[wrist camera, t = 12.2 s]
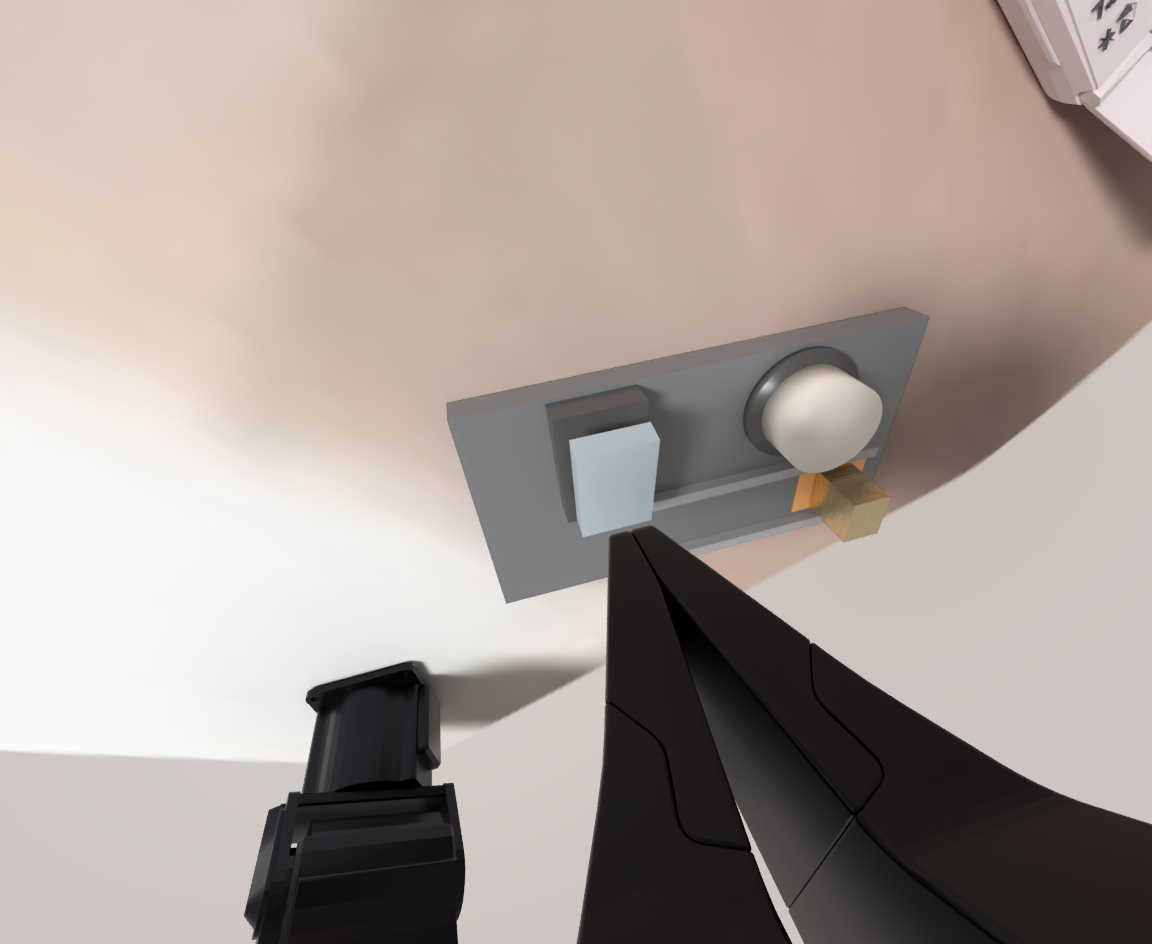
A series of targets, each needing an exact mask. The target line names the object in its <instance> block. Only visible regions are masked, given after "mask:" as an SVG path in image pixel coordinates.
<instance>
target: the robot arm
mask: <svg viewBox="0 0 1152 944" xmlns="http://www.w3.org/2000/svg"><path fill="white" fill-rule="evenodd" d="M605 694H606V695H605V696H606V697H605V701H606V705H605V729H604V730H605V731H604V747H603V766H602V774H601V783H600V790H599V799H598V807H597V814H596V820H595V827H594V835H593V841H592V847H591V854H590V861H589V867H588V874H587V881H586V888H585V894H584V901H583V907H582V914H581V920H580V927H579V934H578V939H577V944H792V942H791V940H790V938H789V936H788V934H787V932H786V931H785V929H784V927H783V924H782V922H781V920H780V918H779V916H778V914H777V912H776V910H775V908H774V906H773V904H772V901H771V898H770V896H769V894H768V892H767V889H766V886H765V884H764V882H763V879H762V876H761V874H760V871H759V868H758V865H757V863H756V860H755V857H754V855H753V853H751V846H750V842H749V839H748V837H747V834H746V831H745V828H744V825H743V822H742V819H741V816H740V813H739V811H738V808H737V805H738V807H739V809H740V811H741V813H742V816H743V817H744V819H745V822H746V824H747V826H748V828H749V830H750V832H751V834H752V836H753V838H754V840H755V842H756V844H757V847H758V849H759V851H760V853H761V855H762V856H763V859H764V861H765V863H766V865H767V867H768V869H769V871H770V873H771V875H772V877H773V880H774V882H775V884H776V886H777V888H778V890H779V892H780V894H781V896H782V898H783V900H784V902H785V904H786V906H787V907H788V908H789V913H790V915H791V917H792V919H793V921H794V923H795V926H796V928H797V930H798V932H799V934H800V935H801V937H802V940H803V942H804V944H1152V824H1149V823H1146V822H1143V821H1139V820H1136V819H1133V818H1130V817H1127V816H1123V815H1121V814H1117V813H1114V812H1111V811H1108V810H1105V809H1102V808H1098V807H1095V806H1092V805H1089V804H1086V803H1083V802H1080V801H1077V800H1075V799H1072V798H1070V797H1067V796H1065V795H1062V794H1059V793H1057V792H1055V791H1053V790H1051V789H1048V788H1046V787H1044V786H1041V785H1039V784H1037V783H1035V782H1033V781H1031V780H1030V779H1028V778H1026V777H1024V776H1022V775H1020V774H1018V773H1016V772H1014V771H1013V770H1011V769H1009V768H1008V767H1006V766H1004V765H1002V764H1001V763H999V762H997V761H996V760H994V759H993V758H991V757H989V756H987V755H986V754H984V753H983V752H981V751H979V750H978V749H976V748H975V747H973V746H971V745H970V744H968V743H966V742H965V741H963V740H961V739H960V738H958V737H957V736H955V735H953V734H952V733H950V732H948V731H947V730H945V729H943V728H942V727H940V726H938V725H937V724H935V723H933V722H932V721H930V720H929V719H927V718H925V717H924V716H922V715H920V714H919V713H917V712H916V711H914V710H912V709H911V708H909V707H907V706H906V705H904V704H903V703H901V702H899V701H898V700H896V699H895V698H893V697H892V696H890V695H888V694H887V693H885V692H884V691H882V690H881V689H879V688H877V687H876V686H874V685H873V684H871V683H870V682H868V681H866V680H865V679H864V678H862V677H861V676H859V675H858V674H857V673H855V672H854V671H852V670H851V669H849V668H848V667H846V666H845V665H844V664H842V663H841V662H839V661H838V660H836V659H835V658H834V657H832V656H831V655H829V654H828V653H827V652H825V651H824V650H823V649H821V648H820V647H819V646H817V645H816V644H814V643H811V644H810V641H809V639H807V638H806V637H805V636H803V635H802V634H801V633H799V632H798V631H797V630H795V629H794V628H792V627H791V626H790V625H788V624H787V623H786V622H784V621H783V620H781V619H780V618H779V617H777V616H776V615H774V614H773V613H772V612H771V611H769V610H768V609H766V608H765V607H764V606H762V605H761V604H760V603H758V602H757V601H756V600H754V599H753V598H751V597H750V596H749V595H747V594H746V593H745V592H743V591H742V590H740V589H739V588H738V587H736V586H735V585H734V584H732V583H731V582H730V581H728V580H727V579H725V578H724V577H723V576H721V575H720V574H719V573H717V572H716V571H715V570H713V569H712V568H710V567H709V566H708V565H706V564H705V563H704V562H702V561H701V560H699V559H698V558H697V557H695V556H694V555H693V554H691V553H690V552H689V551H687V550H686V549H684V548H683V547H682V546H680V545H679V544H678V543H676V542H675V541H673V540H672V539H671V538H669V537H668V536H667V535H665V534H664V533H663V532H661V531H660V530H658V529H657V528H656V527H654V526H652V525H648V526H644V527H640V528H636V529H633V530H632V531H631V532H630V531H624V532H620V533H616V534H612V535H610V537H609V551H608V598H607V646H606V693H605ZM306 702H307V703H308V704H309V705H310V706H311V707H312V708H313V709H314V711H315V712H316V713H317V717H316V723H315V728H314V733H313V738H312V743H311V748H310V753H309V759H308V764H307V769H306V774H305V779H304V784H303V789H302V793H301V794H300V792H289V795H288V798H287V802H286V804H281V805H280V806H278V807H275V808H273V809H270V810H269V812H268V816H267V820H266V824H265V828H264V833H263V837H262V841H261V846H260V850H259V854H258V858H257V862H256V866H255V871H254V875H253V879H252V884H251V888H250V892H249V897H248V901H247V905H246V910H245V914H244V917H245V918H246V919H247V921H248V922H249V924H250V925H251V926H252V928H253V929H254V931H253V936H252V940H254V939H256V944H458V937H457V922H456V921H457V920H458V917H459V915H460V912H461V907H462V903H463V896H464V895H463V894H464V885H465V857H464V849H463V841H462V835H461V828H460V822H459V815H458V809H457V802H456V796H455V789H454V784H453V783H444V784H443V785H437V786H432V770H433V769H436V768H438V767H439V765H440V763H441V760H440V759H441V752H440V703H439V701H438V700H437V698H436V696H435V695H434V693H433V691H432V689H431V688H430V686H428V685H427V684H425V683H424V681H423V680H422V678H421V676H420V675H419V673H418V671H417V670H416V668H415V666H414V665H412V664H403V665H399V666H396V667H392V668H388V669H385V670H381V671H377V672H374V673H370V674H366V675H362V676H359V677H355V678H351V679H348V680H344V681H340V682H337V683H333V684H329V685H325V686H322V687H318V688H314V689H311V690H309V691H308V692H307V695H306ZM735 801H736V802H735ZM736 803H737V805H736ZM293 843H297V848H291V844H293Z"/></svg>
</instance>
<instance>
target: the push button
mask: <svg viewBox="0 0 1152 944" xmlns="http://www.w3.org/2000/svg"><path fill="white" fill-rule="evenodd" d="M881 417H882V401H881V399H880V397H879V395H878V394H877V393H876V392H875V391H874V390H873V389H871V388H869V387H868V386H866V385H865V384H863V383H861V382H860V381H858V380H857V379H855V378H854V377H852V376H850V375H849V374H847V373H846V372H844V371H842V370H841V369H839V368H838V367H836V366H833V365H830V364H817V365H812V366H808V367H806V368H803V369H801V370H799V371H797V372H795V373H794V374H792V375H791V376H789V377H788V378H787V379H785V380H784V381H783V382H782V383H781V384H780V385H779V386H778V387H777V388H776V389H775V391H774V392H773V393H772V395H771V396H770V398H769V399H768V401H767V403H766V405H765V407H764V410H763V414H762V419H761V428H762V432H763V434H764V436H765V438H766V439H767V440H768V441H769V442H770V443H771V444H772V445H773V446H774V447H775V448H776V449H777V450H778V451H779V452H780V453H781V454H782V455H783V456H784V457H785V458H786V459H787V460H788V461H789V462H790V463H791V464H792V465H793V466H794V467H795V468H797V469H798V470H800V471H803V472H806V473H820V472H825V471H828V470H831V469H834V468H836V467H838V466H840V465H842V464H844V463H846V462H847V461H849V460H850V459H851V458H853V457H854V456H855V455H857V454H858V453H859V452H860V451H861V450H862V449H863V448H864V447H865V446H866V445H867V443H868V442H869V441H870V440H871V438H872V437H873V435H874V434H875V432H876V430H877V428H878V426H879V423H880V421H881Z"/></svg>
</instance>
